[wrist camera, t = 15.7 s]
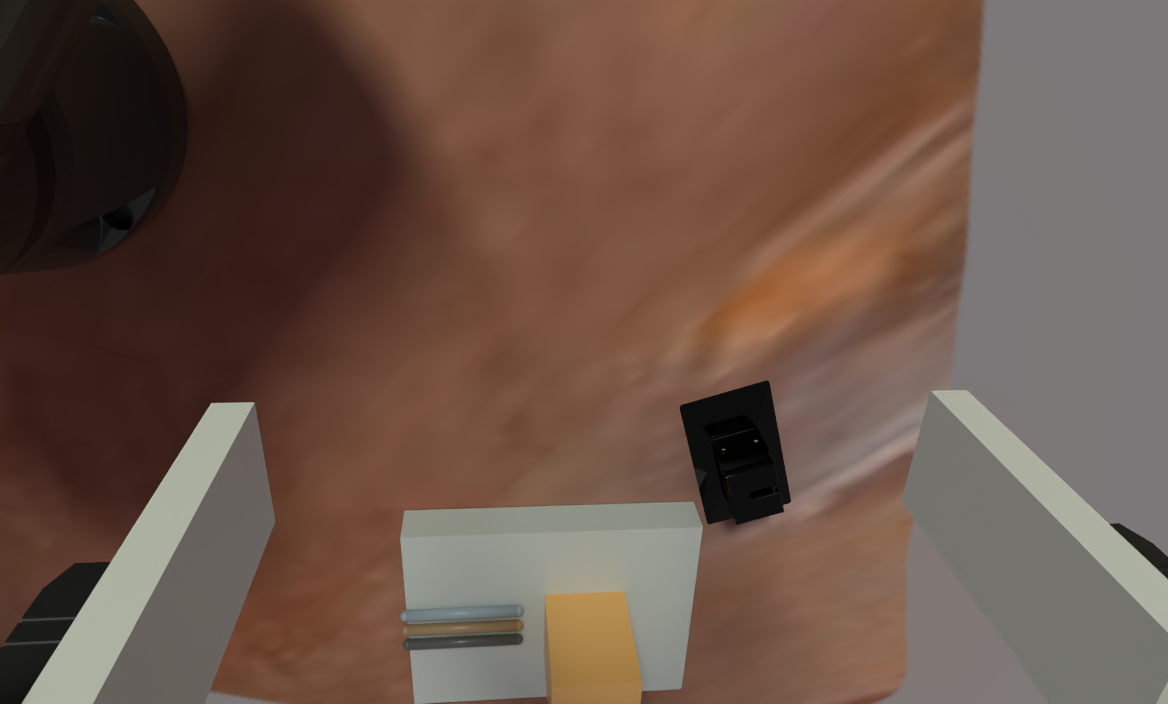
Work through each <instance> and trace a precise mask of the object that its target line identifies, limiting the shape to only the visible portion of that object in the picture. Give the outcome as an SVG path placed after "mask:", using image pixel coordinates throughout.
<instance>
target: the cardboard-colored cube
mask: <svg viewBox="0 0 1168 704" xmlns="http://www.w3.org/2000/svg"><path fill="white" fill-rule="evenodd" d="M544 666H545V681H546V696H547V704H641V694H642V684H643V682H642V677H641V672H640V667H639V662H638V657H637V652H636V647H635V642H634V637H633V632H632V627H631V622H630V617H629V611H628V606H627V601H626V596H625V591H621V592H597V593H572V594H547V595H545V615H544Z"/></svg>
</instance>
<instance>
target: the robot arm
mask: <svg viewBox="0 0 1168 704" xmlns="http://www.w3.org/2000/svg"><path fill="white" fill-rule="evenodd" d="M186 135H187V126H186V113H185V106H184V100H183V96H182V91H181V87H180V84H179V80H178V77H177V74H176V72H175V69H174V66H173V63H172V61H171V59H170V57H169V55H168V52H167V50H166V48H165V46H164V44H163V43H162V41H161V39H160V37H159V35H158V34H157V32H156V30H155V29H154V27H153V25H152V24H151V22H150V21H149V20H148V18H147V17H146V15H145V14H144V12H143V11H142V10H141V9H140V7H139V6H138V5H137V4H136V2H135V1H134V0H0V275H7V274H16V273H26V272H35V271H45V270H54V269H60V268H66V267H70V266H74V265H78V264H81V263H84V262H86V261H89V260H92V259H94V258H97V257H99V256H101V255H104V254H106V253H107V252H109V251H111V250H113V249H115V248H116V247H118V246H119V245H121V244H122V243H124V242H125V241H126V240H127V239H129V238H130V237H131V236H133V235H134V234H135V233H136V232H138V231H139V230H140V229H142V228H143V227H144V226H145V225H147V224H148V223H149V222H150V221H151V220H152V219H153V218H154V217H155V216H156V215H157V213H158V212H159V211H160V210H161V209H162V207H163V206H164V205H165V203H166V202H167V200H168V198H169V197H170V195H171V193H172V192H173V189H174V187H175V185H176V183H177V181H178V178H179V175H180V172H181V169H182V165H183V161H184V155H185V149H186ZM901 502H902V503H903V505H904V506H905V507H906V509H907V510H908V511H909V513H910V514H911V516H912V517H913V518H914V520H915V521H916V522H917V524H918V525H919V526H920V528H921V529H922V531H923V532H924V533H925V535H926V536H927V537H928V539H929V540H930V542H931V543H932V544H933V545H934V547H935V548H936V550H937V551H938V552H939V554H940V555H941V556H942V558H943V559H944V561H945V562H946V563H947V565H948V566H949V568H950V569H951V570H952V571H953V573H954V574H955V576H956V577H957V578H958V580H959V581H960V583H961V584H962V585H963V587H964V588H965V589H966V591H967V592H968V594H969V595H970V596H971V598H972V599H973V600H974V602H975V603H976V604H977V606H978V607H979V609H980V610H981V611H982V613H983V614H984V615H985V617H986V618H987V620H988V621H989V622H990V624H991V625H992V626H993V628H994V629H995V630H996V632H997V633H998V635H999V636H1000V637H1001V639H1002V640H1003V641H1004V643H1005V644H1006V646H1007V647H1008V648H1009V650H1010V651H1011V652H1012V654H1013V655H1014V657H1015V658H1016V659H1017V661H1018V662H1019V663H1020V665H1021V666H1022V667H1023V669H1024V670H1025V672H1026V673H1027V674H1028V676H1029V677H1030V678H1031V680H1032V681H1033V682H1034V684H1035V685H1036V687H1037V688H1038V689H1039V691H1040V692H1041V693H1042V695H1043V696H1044V698H1045V699H1046V700H1047V702H1048V703H1049V704H1168V557H1167V556H1166V555H1165V554H1164V553H1163V552H1162V551H1161V550H1160V549H1158V548H1157V547H1156V546H1155V545H1154V544H1153V543H1151V542H1149V541H1148V540H1146V539H1145V538H1143V537H1141V536H1140V535H1138V534H1136V533H1134V532H1133V531H1131V530H1129V529H1128V528H1126V527H1124V526H1123V525H1121V524H1119V523H1118V524H1109V523H1107V522H1106V521H1105V520H1104V519H1103V518H1102V517H1101V516H1100V515H1099V514H1098V513H1097V512H1096V511H1095V510H1094V509H1093V508H1091V507H1090V506H1089V505H1088V504H1087V503H1086V502H1085V501H1084V500H1083V499H1082V498H1081V497H1080V496H1079V495H1077V493H1075V492H1074V491H1073V490H1072V489H1071V488H1070V487H1069V486H1068V485H1067V484H1066V483H1065V482H1064V481H1063V480H1062V479H1061V478H1060V477H1059V476H1057V475H1056V474H1055V473H1054V472H1053V471H1052V470H1051V469H1050V468H1049V467H1048V466H1047V465H1046V464H1045V463H1044V462H1043V461H1042V460H1040V459H1039V458H1038V457H1037V456H1036V455H1035V454H1034V453H1033V452H1032V451H1031V450H1030V449H1029V448H1028V447H1027V446H1025V444H1023V443H1022V442H1021V441H1020V440H1019V439H1018V438H1017V437H1016V436H1015V435H1014V434H1013V433H1012V432H1011V431H1010V430H1009V429H1007V428H1006V427H1005V426H1004V425H1003V424H1002V423H1001V422H1000V421H999V420H998V419H997V418H996V417H995V416H994V415H993V414H991V413H990V412H989V411H988V410H987V409H986V408H985V407H984V406H983V405H982V404H981V403H980V402H978V400H977V399H976V398H975V397H973V396H972V395H971V394H970V393H969V392H968V391H967V390H960V391H959V390H951V391H931V392H930V396H929V400H928V403H927V407H926V411H925V415H924V418H923V422H922V426H921V429H920V433H919V437H918V441H917V444H916V448H915V452H914V456H913V459H912V463H911V467H910V470H909V474H908V478H907V482H906V485H905V489H904V493H903V497H902V500H901ZM274 524H275V516H274V511H273V505H272V499H271V494H270V488H269V482H268V476H267V471H266V465H265V459H264V453H263V448H262V442H261V436H260V430H259V425H258V419H257V413H256V408H255V402H246V403H211V404H210V406H209V407H208V409H207V411H206V412H205V414H204V415H203V417H202V419H201V420H200V422H199V423H198V425H197V426H196V428H195V430H194V431H193V433H192V434H191V436H190V438H189V439H188V441H187V442H186V444H185V445H184V447H183V449H182V450H181V452H180V453H179V455H178V457H177V458H176V460H175V461H174V463H173V464H172V466H171V468H170V469H169V471H168V472H167V474H166V476H165V477H164V479H163V480H162V482H161V484H160V485H159V487H158V488H157V490H156V491H155V493H154V495H153V496H152V498H151V499H150V501H149V503H148V504H147V506H146V507H145V509H144V510H143V512H142V514H141V515H140V517H139V518H138V520H137V522H136V523H135V525H134V526H133V528H132V529H131V531H130V533H129V534H128V536H127V537H126V539H125V541H124V542H123V544H122V545H121V547H120V548H119V550H118V552H117V553H116V555H115V556H114V558H113V560H112V561H111V562H96V563H75V564H74V565H72V566H71V567H70V568H68V569H67V570H66V571H65V572H63V573H62V574H61V575H60V576H58V577H57V578H56V579H54V580H53V581H52V582H51V583H49V584H48V585H47V586H46V587H44V588H43V589H42V590H41V592H40V593H39V595H38V596H37V597H36V599H35V600H34V602H33V603H32V605H31V606H30V607H29V609H28V610H27V612H26V613H25V614H24V616H23V617H22V619H23V620H22V623H18V624H17V626H16V627H15V628H14V630H13V631H12V633H11V634H10V635H9V637H8V638H7V640H6V641H5V642H6V644H5V647H1V648H0V704H204V703H205V701H206V698H207V696H208V694H209V691H210V688H211V686H212V683H213V681H214V678H215V675H216V673H217V670H218V668H219V665H220V663H221V660H222V657H223V655H224V652H225V650H226V647H227V645H228V642H229V639H230V637H231V634H232V632H233V629H234V627H235V624H236V621H237V619H238V616H239V614H240V611H241V609H242V606H243V603H244V601H245V598H246V596H247V593H248V591H249V588H250V585H251V583H252V580H253V578H254V575H255V573H256V570H257V567H258V565H259V562H260V560H261V557H262V555H263V552H264V549H265V547H266V544H267V542H268V539H269V537H270V534H271V531H272V529H273V526H274Z"/></svg>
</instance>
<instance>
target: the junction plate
mask: <svg viewBox="0 0 1168 704" xmlns="http://www.w3.org/2000/svg"><path fill="white" fill-rule="evenodd" d="M702 529H703V526H702V524H701V521H700V518H699V515H698V512H697V509H696V507H695V504H694V502H665V503H633V504H601V505H569V506H536V507H504V508H472V509H440V510H408V511H405V512H404V518H403V524H402V530H401V537H400V540H401V551H402V563H403V574H404V586H405V598H406V609H407V610H404V611H403V612H402V613H401V615H400V618H401V620H402V621H404V622H408V624H407V625H404V626H403V628H402V634H403V635H404V636H409V639H406V640H405V641H404V642H403V647H404V649H405V650H410V656H411V667H412V679H413V690H414V702H415V704H422V703H440V702H458V701H476V700H494V699H511V698H529V697H547V696H546V681H545V666H544V615H545V595H547V594H572V593H597V592H621V591H625V596H626V601H627V606H628V611H629V617H630V622H631V627H632V632H633V637H634V642H635V647H636V652H637V657H638V662H639V667H640V672H641V677H642V682H643V684H642V691H655V690H673V689H682V682H683V674H684V666H685V659H686V651H687V644H688V636H689V628H690V621H691V613H692V605H693V598H694V590H695V583H696V575H697V567H698V560H699V552H700V544H701V537H702Z"/></svg>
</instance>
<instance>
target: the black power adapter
mask: <svg viewBox="0 0 1168 704" xmlns="http://www.w3.org/2000/svg"><path fill="white" fill-rule="evenodd" d="M680 412H681V416H682V420H683V424H684V428H685V432H686V437H687V441H688V445H689V449H690V453H691V457H692V462H693V466H694V470H695V474H696V478H697V482H698V486H699V491H700V495H701V499H702V503H703V507H704V511H705V516H706V520H707V523H708V524H712V523H716V522H720V521H724V520H727V519H731V518H734V520H735V523H736V524H737V525H738V524H741V523H745V522H749V521H752V520H756V519H760V518H764V517H767V516H771V515H775V514H778V513H782V512H784V509H783V505H784V504H788V503H790V502H791V498H790V493H789V487H788V482H787V476H786V471H785V465H784V460H783V454H782V449H781V443H780V438H779V433H778V427H777V422H776V416H775V411H774V405H773V400H772V394H771V389H770V383H769V381H763V382H760V383H756V384H753V385H750V386H746V387H743V388H739V389H736V390H732V391H729V392H725V393H722V394H718V395H715V396H711V397H708V398H704V399H701V400H697V401H694V402H690V403H687V404H683V405H681V406H680Z"/></svg>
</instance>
